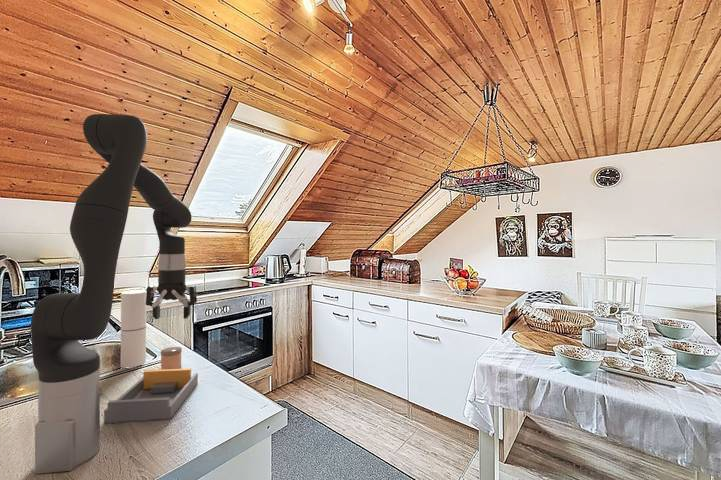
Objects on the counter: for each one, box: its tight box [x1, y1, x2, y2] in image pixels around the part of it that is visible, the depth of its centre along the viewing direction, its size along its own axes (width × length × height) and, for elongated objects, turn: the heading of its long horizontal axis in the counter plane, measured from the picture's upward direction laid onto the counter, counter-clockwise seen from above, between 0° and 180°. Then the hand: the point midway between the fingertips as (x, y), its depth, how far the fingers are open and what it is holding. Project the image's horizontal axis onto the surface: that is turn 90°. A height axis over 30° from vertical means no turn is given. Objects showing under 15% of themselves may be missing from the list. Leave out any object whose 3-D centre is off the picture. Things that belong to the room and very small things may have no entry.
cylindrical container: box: [120, 289, 147, 369], centre depth 111 cm, size 7×7×25 cm
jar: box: [160, 346, 183, 370], centre depth 104 cm, size 6×6×8 cm
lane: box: [103, 372, 199, 425], centre depth 87 cm, size 19×15×5 cm
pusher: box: [142, 367, 192, 393], centre depth 93 cm, size 4×12×5 cm, turn 99°
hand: (171, 318), depth 103 cm, fingers open, 8 cm apart
